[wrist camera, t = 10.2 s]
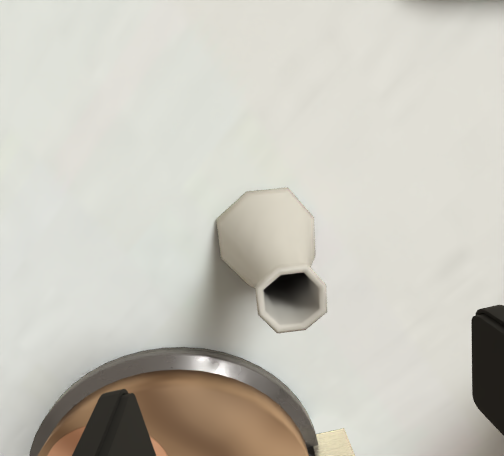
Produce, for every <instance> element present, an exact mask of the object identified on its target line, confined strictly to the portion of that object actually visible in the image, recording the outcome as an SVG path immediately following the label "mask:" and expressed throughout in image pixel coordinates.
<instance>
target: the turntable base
mask: <svg viewBox="0 0 504 456" xmlns="http://www.w3.org/2000/svg"><path fill="white" fill-rule="evenodd" d="M179 369H181V370H197V371H204V372H210V373H215V374H220V375H223V376H226V377H230V378H233V379H236V380H239V381H241V382H243V383H245V384H248V385H250V386H252V387H254V388H256V389H257V390H259V391H261V392H262V393H264V394H266V395H267V396H269V397H270V398H271V399H272V400H274V401H275V402H276V403H277V404H279V405H280V406H281V407H282V408H283V409H284V410H285V411H286V413H287V414H288V415H289V416H290V417H291V418H292V420H293V421H294V423H295V424H296V425H297V427H298V428H299V430H300V432H301V434H302V436H303V439H304V441H305V443H306V447H307V450H308V454H309V456H355V454H354V452H353V449H352V447H351V444H350V442H349V439H348V437H347V434H346V432H345V429H344V428H343V429H339V430H334V431H329V432H325V433H320V434H315V431H314V427H313V424H312V422H311V420H310V418H309V416H308V413H307V411H306V410H305V408H304V407H303V405H302V404H301V402H300V401H299V399H298V398H297V397H296V396H295V395H294V394H293V392H292V391H291V390H290V389H289V388H288V387H287V386H286V385H285V384H283V383H282V382H281V381H280V380H279V379H277V378H276V377H275V376H274V375H272V374H271V373H269V372H267V371H266V370H264V369H263V368H261V367H259V366H257V365H255V364H253V363H251V362H249V361H246V360H244V359H242V358H239V357H236V356H233V355H230V354H227V353H223V352H218V351H213V350H208V349H200V348H188V347H176V348H160V349H153V350H146V351H141V352H137V353H134V354H130V355H126V356H123V357H120V358H118V359H115V360H113V361H110V362H108V363H106V364H104V365H102V366H100V367H98V368H96V369H95V370H93V371H91V372H89V373H87V374H86V375H85V376H83V377H82V378H81V379H79V380H78V381H77V382H75V383H74V384H73V385H72V386H71V387H70V388H69V389H68V390H67V391H66V392H65V393H64V394H63V395H62V396H61V397H60V398H59V399H58V400H57V402H56V403H55V404H54V406H53V407H52V408H51V410H50V411H49V413H48V414H47V416H46V417H45V419H44V420H43V422H42V424H41V426H40V428H39V430H38V431H37V433H36V435H35V438H34V441H33V444H32V447H31V450H30V456H38V454H39V452H40V451H41V449H42V447H43V446H44V444H45V442H46V441H47V439H48V438H49V436H50V434H51V433H52V431H53V430H54V428H55V427H56V426H57V424H58V423H59V421H60V420H61V419H62V418H63V417H64V416H65V415H66V414H67V413H68V412H69V411H70V410H71V409H72V408H73V407H74V406H75V405H76V404H77V403H79V402H80V401H81V400H83V399H84V398H85V397H87V396H88V395H90V394H91V393H93V392H95V391H97V390H98V389H100V388H102V387H104V386H106V385H108V384H111V383H113V382H115V381H118V380H120V379H123V378H127V377H130V376H134V375H137V374H141V373H147V372H153V371H160V370H179Z"/></svg>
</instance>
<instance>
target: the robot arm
mask: <svg viewBox="0 0 504 456" xmlns="http://www.w3.org/2000/svg"><path fill="white" fill-rule="evenodd" d="M472 394H473V399H474V402H475V404H476V406H477V407H478V409H479V410H480V411H481V412H482V413H483V414H484V415H485V416H486V417H487V418H488V420H489V421H490V422H491V423H492V424H493V425H494V426H495V427H496V428H497V429H498V430H499V431H500V432H501V433H502V434H503V435H504V306H503V305H496V306H492V307H487V308H483V309H479V310H477V312H476V316H474V317H473V318H472ZM72 456H156V453H155V450H154V448H153V445H152V442H151V439H150V436H149V433H148V430H147V428H146V425H145V422H144V419H143V416H142V413H141V410H140V408H139V405H138V402H137V399H136V396H135V394H134V393H128V391H127V390H126V389H121V390H116V391H112V392H107V393H103V394H102V395H101V396H100V398H99V399H98V402H97V404H96V406H95V408H94V410H93V412H92V414H91V416H90V419H89V421H88V423H87V425H86V427H85V429H84V431H83V433H82V435H81V438H80V440H79V442H78V444H77V446H76V448H75V450H74V452H73V454H72Z"/></svg>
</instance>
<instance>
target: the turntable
mask: <svg viewBox="0 0 504 456" xmlns="http://www.w3.org/2000/svg"><path fill="white" fill-rule="evenodd" d="M121 389H126V390H127V391H128V393H134V394H135V396H136V399H137V402H138V405H139V408H140V410H141V413H142V416H143V419H144V422H145V425H146V428H147V430H148V433H149V436H150V439H151V442H152V445H153V448H154V450H155V453H156V456H309V454H308V450H307V447H306V443H305V441H304V439H303V436H302V434H301V432H300V430H299V428H298V427H297V425H296V424H295V423H294V421H293V420H292V418H291V417H290V416H289V415H288V414H287V413H286V411H285V410H284V409H283V408H282V407H281V406H280V405H279V404H277V403H276V402H275V401H274V400H272V399H271V398H270V397H269V396H267V395H266V394H264V393H262V392H261V391H259V390H257V389H256V388H254V387H252V386H250V385H248V384H245V383H243V382H241V381H239V380H236V379H233V378H230V377H226V376H223V375H220V374H215V373H210V372H204V371H197V370H181V369H179V370H160V371H153V372H147V373H141V374H137V375H134V376H130V377H127V378H123V379H120V380H118V381H115V382H113V383H111V384H108V385H106V386H104V387H102V388H100V389H98V390H97V391H95V392H93V393H91V394H90V395H88V396H87V397H85V398H84V399H83V400H81V401H80V402H79V403H77V404H76V405H75V406H74V407H73V408H72V409H71V410H70V411H69V412H68V413H67V414H66V415H65V416H64V417H63V418H62V419H61V420H60V421H59V423H58V424H57V426H56V427H55V428H54V430H53V431H52V433H51V434H50V436H49V438H48V439H47V441H46V442H45V444H44V446H43V447H42V449H41V451H40V452H39V454H38V456H72V454H73V452H74V450H75V448H76V446H77V444H78V442H79V440H80V438H81V435H82V433H83V431H84V429H85V427H86V425H87V423H88V421H89V419H90V416H91V414H92V412H93V410H94V408H95V406H96V404H97V402H98V399H99V398H100V396H101V395H102V394H103V393H107V392H112V391H116V390H121Z"/></svg>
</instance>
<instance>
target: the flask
mask: <svg viewBox="0 0 504 456" xmlns="http://www.w3.org/2000/svg"><path fill="white" fill-rule="evenodd" d="M216 222H217V230H218V238H219V247H220V255H221V259H222V260H223V261H224V262H225V263H226V264H227V265H228V266H229V267H230V268H231V269H232V270H234V271H235V272H236V273H237V274H238V275H239V276H240V277H241V278H242V279H243V280H244V281H245V282H246V283H247V284H248V285H249V286H251V287H253V288H255V289H256V300H257V310H258V315H259V316H260V317H261V318H262V319H263V320H264V321H265V322H266V323H267V324H268V325H269V326H270V327H271V328H272V329H273V330H274V331H275V332H276V333H284V332H292V331H301V330H306V329H307V328H308V327H310V326H311V325H312V324H313V323H314V322H316V321H317V320H318V319H319V318H321V317H322V316H323V315H324V314H325V313H327V294H326V284H325V283H324V282H323V281H322V280H321V279H320V278H319V277H318V275H317V274H316V273H315V272H314V271H313V270H312V269H311V265H312V263H313V261H314V258H315V234H314V217H313V216H312V215H311V213H310V212H309V211H308V210H307V209H306V208H305V207H304V205H303V204H302V203H301V202H300V201H299V200H298V199H297V197H296V196H295V195H294V194H293V193H292V192H291V190H290V189H289V188H278V189H268V190H258V191H248V192H246V193H245V194H243V195H242V196H241V197H240V198H239V199H238V200H237V201H236V202H235V203H234V204H232V205H231V206H230V207H229V208H228V209H227V210H226V211H225V212H224V213H223V214H221V215H220V216H219V217H218V218H217V219H216Z"/></svg>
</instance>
